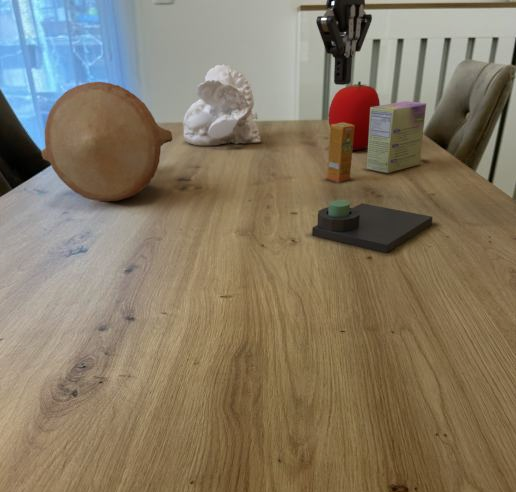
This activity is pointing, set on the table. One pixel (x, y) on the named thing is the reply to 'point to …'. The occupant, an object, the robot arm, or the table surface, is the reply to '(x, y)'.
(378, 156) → the box
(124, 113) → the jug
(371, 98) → the red apple
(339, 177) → the supplement box
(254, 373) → the table surface
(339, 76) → the robot arm
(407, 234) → the dark grey button base
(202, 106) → the white sculpted figurine
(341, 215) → the button
